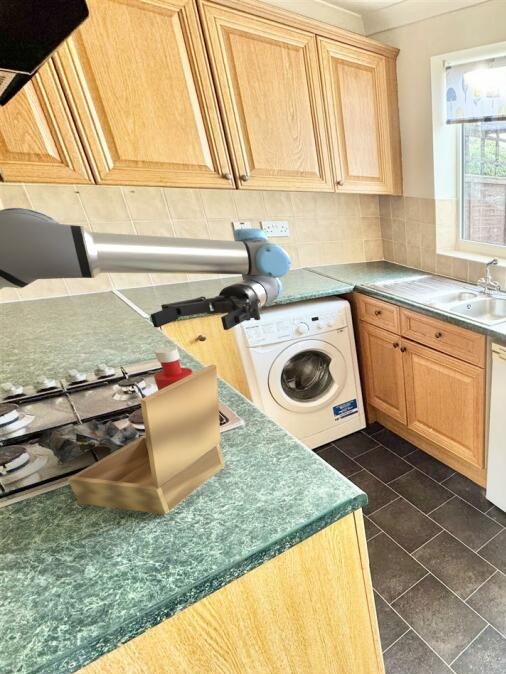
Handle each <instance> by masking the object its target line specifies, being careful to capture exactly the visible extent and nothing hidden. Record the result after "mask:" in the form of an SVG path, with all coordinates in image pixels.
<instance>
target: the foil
mask: <svg viewBox="0 0 506 674" xmlns="http://www.w3.org/2000/svg"><path fill="white" fill-rule="evenodd" d="M97 420H100V419H92V420H90V421H88V422H82V423H81V422H80V423H76V424H73V423H70V424H67V425H63V426H60V427H56V428H52V429H47V430H44V431H43V432H42V434H41V436H40V437H39V438H38V439H37V445H38V446H39V447H41V448H44V449H47V450H50V451H51V452H52V453H53V456H54V457H55V458H57V463H56V465H57V466H62V465H65V464H67V463H68V462H70V461H72V460H74V459H76V458H78V457H79V456H80V455H81V456H82V454H83V453H85V452H86V451H90V450H92V449H94V448H95V447H96V446H103V447H106V448H108V449H107V452H108V453H110V454H112V453H114V452H115V451H117V450H119V449H121V448H122V447H124V446H126V445H127V444H129V443H131V442H133V441H134V440H136V439H138V438H140V437H141V436H143V435H144V436H146V434H145V433H144V434H141V433H140V432H139V431H138V430H137V429H136V428H134V427H132V425H128V426H126V427H123V428H121V429H120V428H119V427H118V426H117V425H116V424H115V423H114V422H113V421H112V420H109V421H108V422H107V423H102V422H100V421H97Z"/></svg>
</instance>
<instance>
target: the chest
mask: <svg viewBox="0 0 506 674" xmlns="http://www.w3.org/2000/svg"><path fill="white" fill-rule="evenodd" d="M225 467H226V462H225V459H224V455H223V452H222V449H221V445H220V443H219V444H218V445H217V446H215V447H214V448H212V449H211V450H210V451H208V452H207V453H206V454H204V455H203V456H201V457H200V458H199V459H197V460H196V461H195V462H193V463H192V464H191V465H189V466H188V467H186V468H185V469H184V470H182V471H181V472H180V473H178V474H177V475H175V476H174V477H173V478H171V479H170V480H169V481H167V482H166V483H165V484H163V485H162V486H160V487H159V488H156V487H153V480H152V473H151V467H150V460H149V454H148V447H147V441H146V436H144V435H143V436H141V437H140V438H138V439H136V440H134V441H133V442H131V443H129V444H127V445H126V446H124V447H122V448H121V449H119V450H117V451H115V452H114V453H112V454H111V453H110V454H109V455H107V456H104V457H103V458H101V459H100V460H98V461H96V462H94V463H93V464H91V465H89V466H88V467H86V468H84V469H82V470H81V471H79V472H77V473H75V474H74V475H72V476H70V477H68V478H67V481H68V483H69V485H70V487H71V490H72V491H73V494H74V495H75V498H76V499H77V501H78V503H79V504H81V505H88V506H89V505H90V506H97V507H105V508H112V509H120V510H128V511H135V512H136V511H137V512H142V513H143V512H145V513H152V514H159V515H167V514H168V513H169V512H171V511H172V510H173V509H175V508H176V507H177V506H178V505H179V504H180V503H182V502H183V501H185V499H187V498H188V497H189V496H190V495H192V494H193V493H194V492H195V491H197V490H198V489H199V488H200V487H202V486H203V485H204V484H205V483H206V482H208V481H209V480H210V479H211V478H213V477H214V476H216V474H218V473H219V472H221V470H223V469H224V468H225Z"/></svg>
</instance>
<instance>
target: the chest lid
mask: <svg viewBox="0 0 506 674" xmlns="http://www.w3.org/2000/svg"><path fill="white" fill-rule="evenodd" d="M217 371H218V370H217V365H215V364H209V365H208V366H206V367H203V368H201V369H200V370H197V371H195V372H193V374H191V375H189V376H187V377H185V378H183V379H181V380H179V381H177V382H175V383H173V384H171V385H169V386H167V387H165V388H163V389H161V390H159V391H158V390H157V391H154V392H153V393H151V394H149V395H147V396H145V397H142V398H140V407H141V415H142V420H143V427H144V434H145V435H146V441H147V447H148V454H149V460H150V467H151V473H152V480H153V487H156V488H159V487H160V486H162V485H163V484H165V483H166V482H167V481H169V480H170V479H171V478H173V477H174V476H175V475H177V474H178V473H180V472H181V471H182V470H184V469H185V468H186V467H188V466H189V465H191V464H192V463H193V462H195V461H196V460H197V459H199V458H200V457H201V456H203V455H204V454H206V453H207V452H208V451H210V450H211V449H212V448H214V447H215V446H217V445H218V444H219V445H220V444H221V443H222V442H221V441H222V439H221V424H220V423H221V422H220V421H221V420H220V408H219V407H220V406H219V390H218V389H219V388H218V387H219V386H218V373H217Z"/></svg>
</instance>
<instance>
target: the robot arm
mask: <svg viewBox="0 0 506 674" xmlns="http://www.w3.org/2000/svg"><path fill="white" fill-rule="evenodd" d="M291 266H292V261H291V257H290V255H289V254H288V252H287V251H286V250H284V249H283V248H282V247H281V246H280V245H278V244H275V243H271V242H270V240H269V239H268V234H267V232H266V231H265V230H264V229H262V228H237V229H235V230H234V231H233V240H222V239H207V238H206V239H205V238H192V237H174V236H161V235H160V236H157V235H144V234H143V235H142V234H129V233H128V234H127V233H114V232H113V233H111V232H110V233H109V232H93V231H91V230H89V229H88V228H86V227H85V226H83V225H75V224H74V225H73V224H64V223H59V222H58V221H56V220H55V219H54V218H53V217H50V216H49V215H47V214H45V213H43V212H40V211H37V210H33V209H29V208H23V207H9V208H3V209H0V290H2V289H4V288H12V289H23V288H25V287H27V286H28V285H30V284H32V283H34V282H36V281H38V280H52V279H53V280H55V279H58V280H59V279H95V278H96V277H98V275H100V274H170V275H171V274H179V275H180V274H181V275H241V278H242V280H240V281H238V282H235V283H233V284H230V285H227V286H225V287H223V288H222V289H221V290H220V292H219V294H218V295H216V296H214V297H209V298H208V297H206V296H198V297H196V298H191V299H186V300H181V301H175V302H170V303H164V304H161V305H160V307H161V310H158V311H156V312H153V313H151V314H150V318H151V322H152V325H153V328H155V329H157V328H160V327H163V326H165V325H168V324H170V323H172V322H177V320H179V318H181V317H188V316H193V315H195V316H196V315H199V314H200V315H201V314H208V315H216V314H225V315H223V316H220V319H221V325H222V328H223V331H228V330H231V329H233V328H234V327H236V326H238V325H240V324H241V323H243V322H245V321H247V322H249V321H251V319H253V321H260V320H261V313H260V312H261V311H262V310H263V306H265V305H267V304H269V303H272V302H274V301H276V300H277V299H278V298H279V297H280V296H281V295H282V293H283V283H282V281H281V280H280V279H279V278H282V277H284V276H286V275H287V274H288V273H289V271H290V269H291Z"/></svg>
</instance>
